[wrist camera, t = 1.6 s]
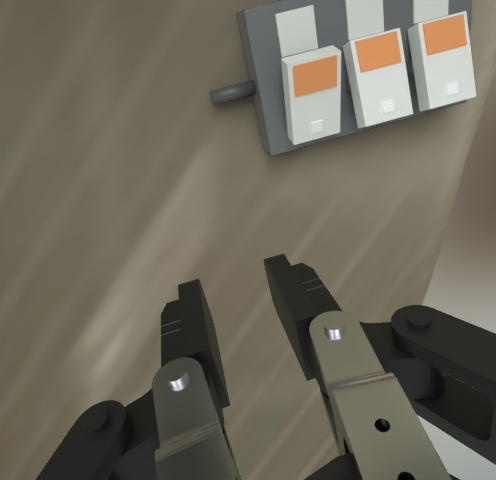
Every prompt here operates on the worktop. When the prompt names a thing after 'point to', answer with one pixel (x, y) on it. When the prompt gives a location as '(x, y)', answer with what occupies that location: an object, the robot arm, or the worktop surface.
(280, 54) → the rocker switch panel
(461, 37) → the block
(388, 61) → the block
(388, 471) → the robot arm
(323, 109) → the rocker
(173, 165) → the worktop surface
